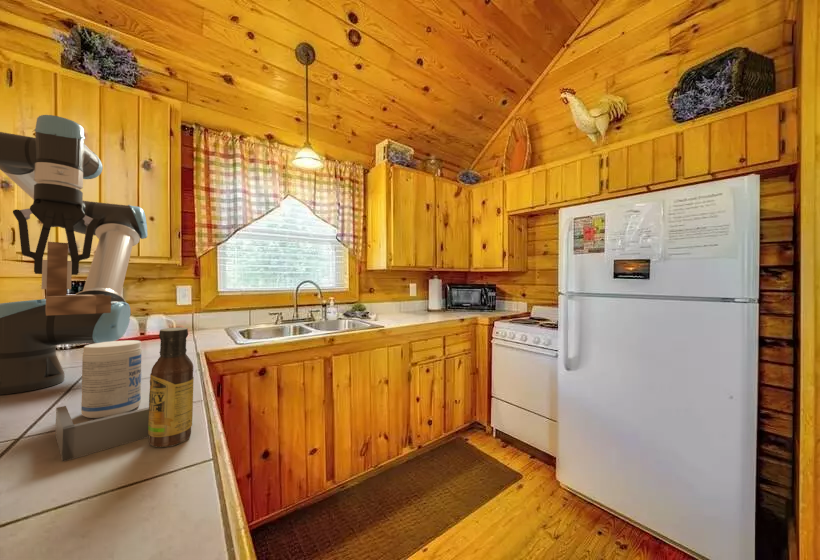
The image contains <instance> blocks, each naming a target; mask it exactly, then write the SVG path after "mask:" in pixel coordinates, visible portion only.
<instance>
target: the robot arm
mask: <svg viewBox="0 0 820 560" xmlns="http://www.w3.org/2000/svg"><path fill="white" fill-rule="evenodd" d="M34 132H35V137H32V136H28V135H20V134H14V133H8V132H3V131H0V171H1V172H2V173H4V174H5V175H6V176H7V177H8V178H9V179H10V180H11V181H12V182H13V183H14V184H16V185H17V186H18V187H19V188H20V189H21V190H22V191H23V192H24V193H25V194H27V196H29V197H30V198H31V199H32V200H33V203H32V204H31V205H30V206H29V208H24V209H13V210H12V213H13V216H14V217H15V219H16V220H17V222H18V231H19V240H20V243H19V244H20V250H21V254H22V256H24V257H28V258H32V260H33V272H34V274H35V275H41V290H46V289H47V259H43V258H44V254H45V250H46V248H47V244H48V239H49V235H50V231H51V228H62V229H64V231H65V235H66V236H65V237H66V241H67V243H68V252H69V255H70V260H68V261H67V290H72V275H73V276H74V275H75V276H77V275H78V274H79V273H80V270H79V269H80V265H79V264H80V261H83V260H88V259H89V258H90V257H91V252H92V247H93V238H94V236H96V238H97V239H98V243H97V245H96V249H95V251H94V255H93V258H92V261H91V264H90V266H89V267H90V268H89V270H88V274H87V277H86V279H85V283H84V285H83V289H82V290H81V291H79V292H76V293H75V294H74V295H98V294H104V296H111V313H95V314H71V315H48V316H46V312H45V309H46V298H42V299H31V300H20V301H12V302H11V301H10V302H0V396H1V395H10V394H11V395H13V394H18V393H24V392H29V391H31V392H32V391H34V390H40V389H44V388H45V389H46V388H48V387H52V386H55V385H58V384H62V382H64V381H65V370H64V368H63V366H62V364H61V362H60V359H59V357H58V355H57V351H56V350H57V346H63V345H64V346H65V345H81V344H82V345H84V344H95V343H101V342H110V341H119V340H120V339H121V338H122V337H123V336H124V335H125V334H126V332H127V330H128V328H129V324H130V320H131V318H130V317H131V315H132V314H131V306H130V303H127V302H126V300H125V298H124V297H123V296H122V293H123V292H122V291H123V288H124V283H125V279H126V275H127V270H128V267H129V263H130V262H129V261H130V258H131V254H132V249H133V247H134V246H137V245H138V243H140V240H144V239H147V238H148V224H147V218H146V216H147V215H146V214H145V211H144V209H143V208H142V207H140V206H137V205H131V204H127V205H125V204H118V203H116V204H115V203H108V202H97V201H89V200H83V197H84V195H83V194H84V193H83V192H82V189H83V188H84V187H83V186H84V180H93V179H96V178H97V177H99V176H100V175H101V174H102V172H103V162H102V161H101V159H100V158H99V156H98V155H97V154H96V153H95V152H94V151H93V150H91V149H90V148H89V147H88V145H86V143H85V140H86V137H85V129H84V126H82V125H81V124H79V123H78V122H76V121H74V120H72V119H69V118H65V117H62V116H58V115H53V114H41V115H39V116H38V117H37V118H36V122H35V129H34ZM31 214H33V216H34V217H35V218H36V219H38V220H39V222H40V223H41V224H42V225H41V226H42V227H41V229H40V230H41V231H40V234H39V238H38V240H37V241H38V242H37V245H36V250H35V252H33V251H32V250H31V245H30V235H29V227H28V221H27V220H29V219H31ZM75 233H78V234H83V235H84V240H83V247H82V254H79V251H78V247H77V241H76V236H75Z"/></svg>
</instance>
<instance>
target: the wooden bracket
mask: <svg viewBox="0 0 820 560" xmlns="http://www.w3.org/2000/svg"><path fill="white" fill-rule="evenodd" d="M46 250H47V253H46V255H47V257H46V260H47V289H45V293H46V294H45V299H46V309H45V312H46V316H48V315H71V314H95V313H111V296H104V294H98V295H75V294H67V293H68V292H67V290H68V289H67V261H69V260H68V259H69V258H68V253H69V246H68V242H60V241H59V242H56V241H47V249H46Z"/></svg>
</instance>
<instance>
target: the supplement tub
mask: <svg viewBox="0 0 820 560" xmlns="http://www.w3.org/2000/svg"><path fill="white" fill-rule="evenodd" d="M142 348H143V347H142V341H141V340H133V339H132V340H131V339H130V340H116V341H110V342H101V343H88V344H85V345H84V346H83V352H82V360H81V361H82V362H81V363H82V365H81V368H82V369H81V402H80V403H81V404H80V406H81V408H80V410H81V412H80V413H81V415H82V416H83V417H85V418H87V419H100V418H105V417H109V416H113V415H118V414H122V413H126V412H131V411H134V410H136V408H138V407H139V406H140V405H141V401H142V400H141V398H142V396H141V395H142V393H141V392H142V386H141V385H142V356H143V355H142V354H143V353H142Z"/></svg>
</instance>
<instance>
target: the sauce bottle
mask: <svg viewBox="0 0 820 560" xmlns="http://www.w3.org/2000/svg"><path fill="white" fill-rule="evenodd" d="M158 335H159V337H158V338H159V340H160V349H159V357H158V359H157V360H156V362H155V363H154V364H153V365H152V368H151V372H150V374H149V377H150V378H149V395H148V397H149V398H148V400H149V401H148V407H149V426H148V434H149V435H150V437H148V438H149V439H148V442H149V445H150V446H153V447H155V448H167V447H172V446H173V447H174V446H177V445H179V444H182V443H184V442H185V441H188V440H189V439H190V437H191V435H192V426H193V412H194V407H193V406H194V383H195V382H194V379H195V378H194V364H193V362H192V360H191V359H190V358H189V356H188V355H187V351H188V350H187V349H188V348H187V337H188V335H189V331H188V328H187V327H183V326H182V327H180V326H179V327H167V328H161V329H160V330H159V333H158Z"/></svg>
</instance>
